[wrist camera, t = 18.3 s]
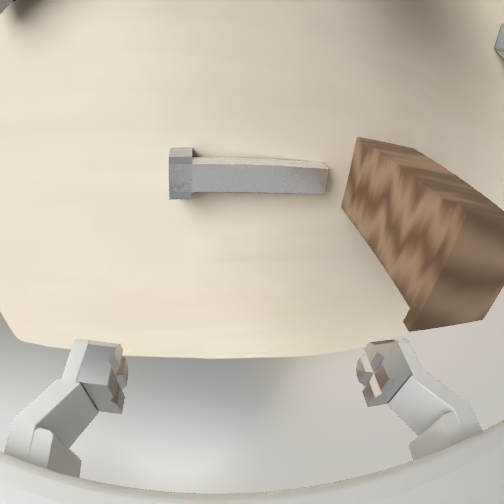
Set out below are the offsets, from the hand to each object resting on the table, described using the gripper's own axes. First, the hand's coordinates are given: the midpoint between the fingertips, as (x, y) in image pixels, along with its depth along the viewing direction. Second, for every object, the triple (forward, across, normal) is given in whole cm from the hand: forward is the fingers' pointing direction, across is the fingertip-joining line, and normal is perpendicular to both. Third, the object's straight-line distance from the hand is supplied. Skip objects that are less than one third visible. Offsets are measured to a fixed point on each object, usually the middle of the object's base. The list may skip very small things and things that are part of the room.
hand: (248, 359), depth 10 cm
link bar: (+34, +4, -7) cm, 34 cm away
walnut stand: (+38, +25, -6) cm, 45 cm away
